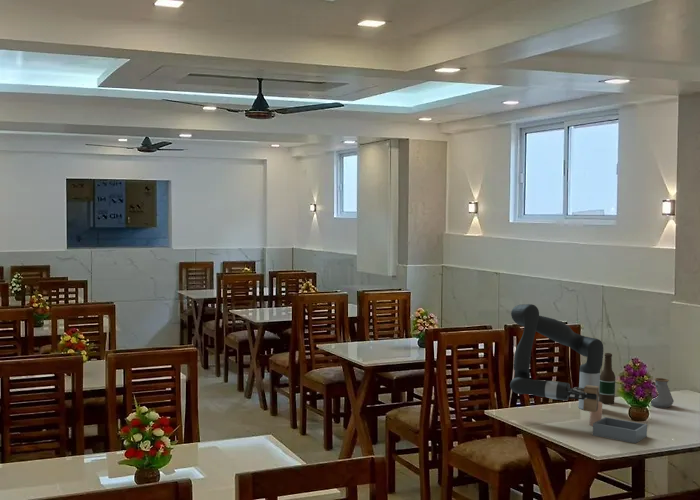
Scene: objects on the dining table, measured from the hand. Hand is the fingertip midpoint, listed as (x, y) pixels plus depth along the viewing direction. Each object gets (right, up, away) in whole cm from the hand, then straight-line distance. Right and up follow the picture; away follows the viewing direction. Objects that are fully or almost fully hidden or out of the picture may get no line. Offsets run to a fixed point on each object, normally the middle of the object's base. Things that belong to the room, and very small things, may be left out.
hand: (597, 395), depth 345 cm
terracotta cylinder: (+2, -14, +10) cm, 17 cm away
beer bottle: (+20, -13, +53) cm, 59 cm away
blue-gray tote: (+7, -15, -7) cm, 18 cm away
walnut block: (-3, -6, +2) cm, 7 cm away
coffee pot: (+40, -14, +47) cm, 63 cm away
